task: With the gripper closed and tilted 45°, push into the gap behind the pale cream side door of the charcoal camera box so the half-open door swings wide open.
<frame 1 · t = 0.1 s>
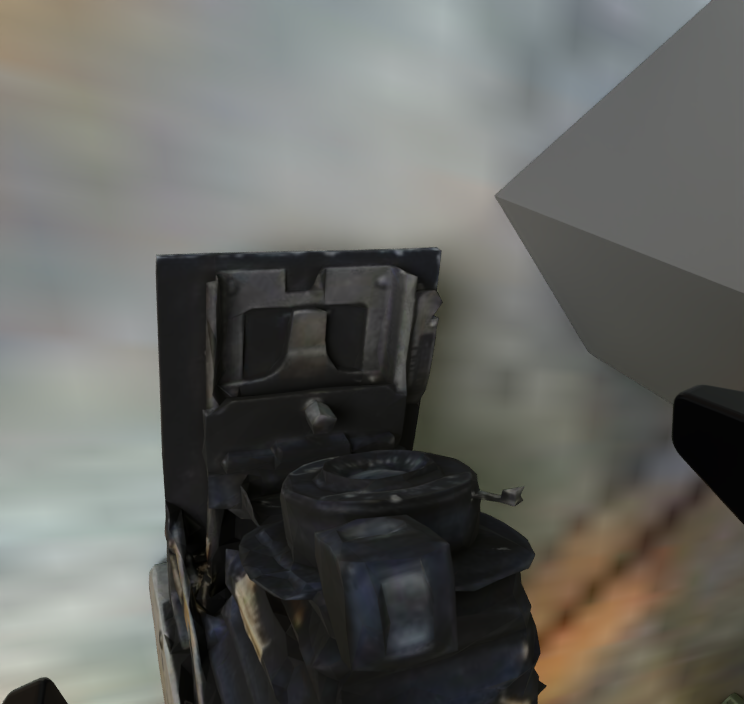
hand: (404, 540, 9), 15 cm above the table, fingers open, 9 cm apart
vintage camera: (264, 428, 25), on the table
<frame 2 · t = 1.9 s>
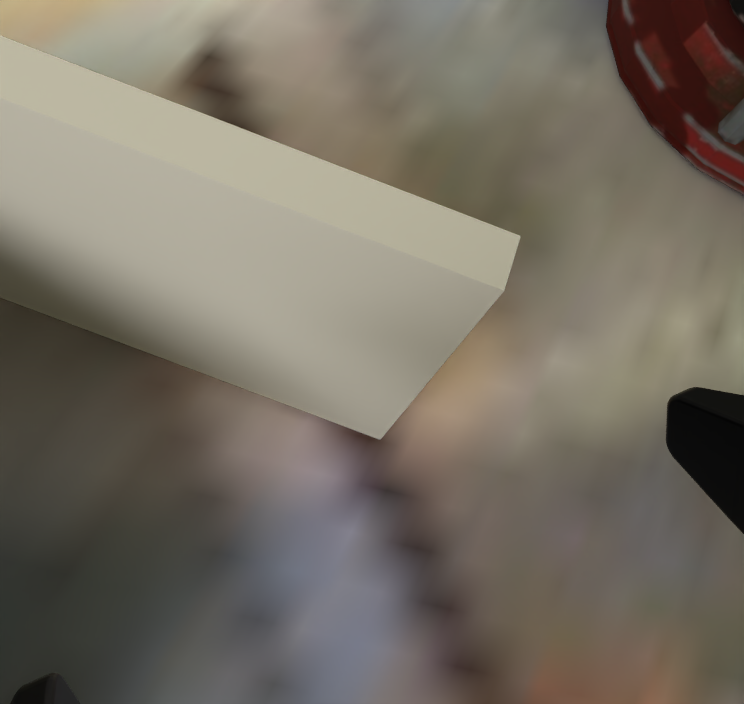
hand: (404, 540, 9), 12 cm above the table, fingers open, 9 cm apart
side door: (83, 217, 16), point 7 cm above the table, hinge at 48.0°
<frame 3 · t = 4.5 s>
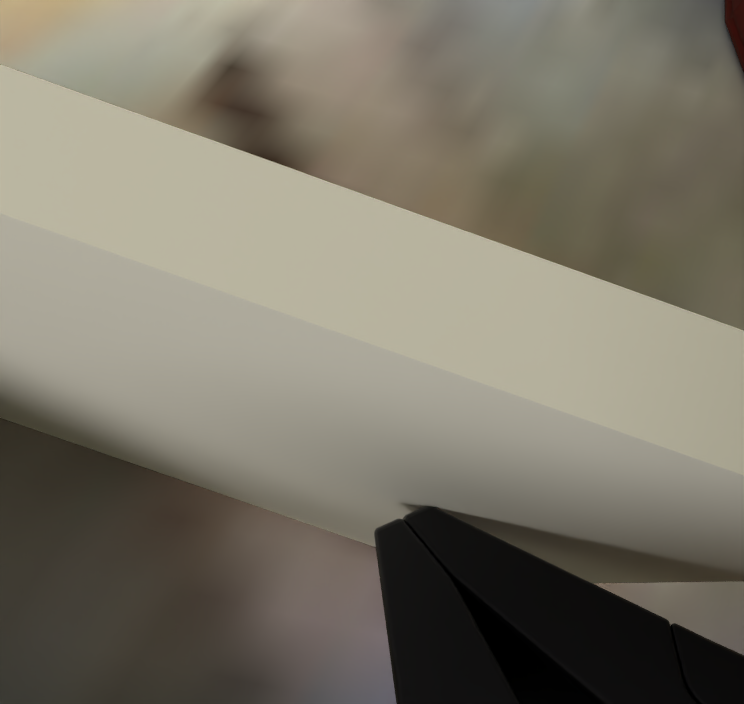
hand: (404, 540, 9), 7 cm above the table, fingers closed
side door: (60, 315, 10), point 7 cm above the table, hinge at 48.4°, touching gripper
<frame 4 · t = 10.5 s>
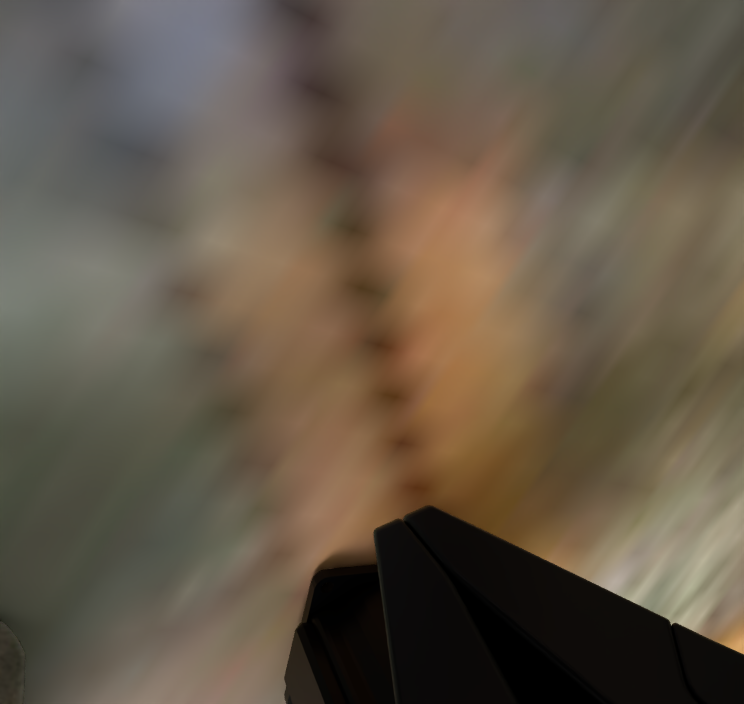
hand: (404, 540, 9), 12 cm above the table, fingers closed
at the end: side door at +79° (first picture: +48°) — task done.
